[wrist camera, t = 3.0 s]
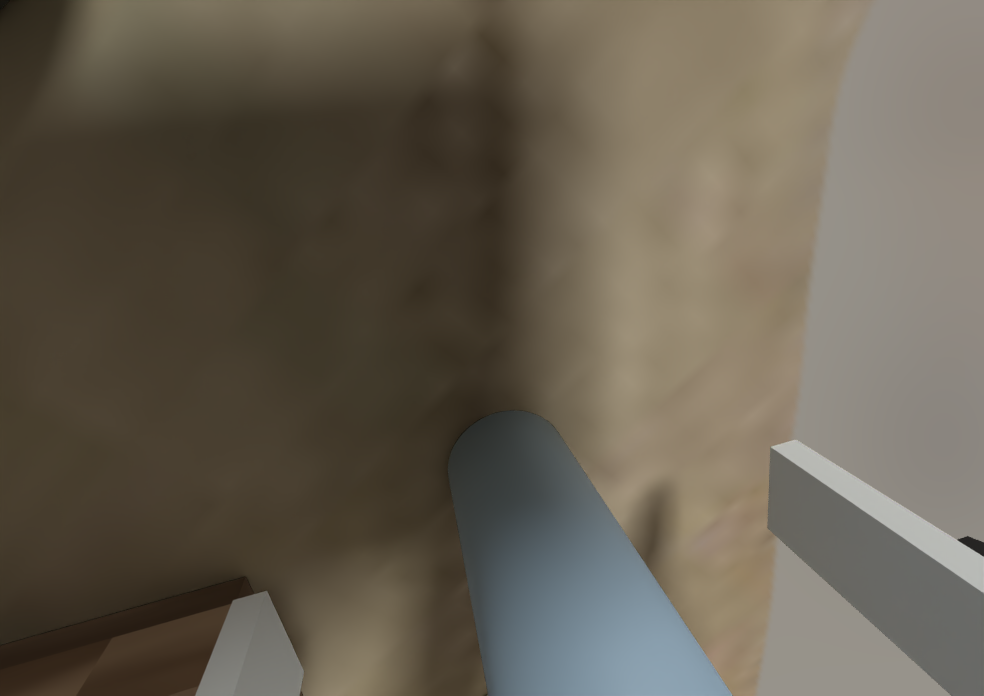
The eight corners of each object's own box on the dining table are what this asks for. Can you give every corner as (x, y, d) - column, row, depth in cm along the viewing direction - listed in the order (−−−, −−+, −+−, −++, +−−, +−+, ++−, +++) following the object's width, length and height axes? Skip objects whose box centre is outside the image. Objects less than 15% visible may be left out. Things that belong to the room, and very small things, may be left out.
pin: (435, 428, 15) (563, 1188, 4) (556, 397, 15) (1004, 981, 4) (461, 528, 16) (609, 1297, 5) (571, 497, 17) (932, 1134, 5)
